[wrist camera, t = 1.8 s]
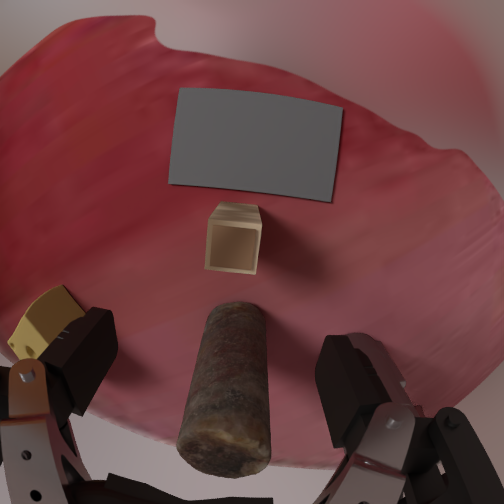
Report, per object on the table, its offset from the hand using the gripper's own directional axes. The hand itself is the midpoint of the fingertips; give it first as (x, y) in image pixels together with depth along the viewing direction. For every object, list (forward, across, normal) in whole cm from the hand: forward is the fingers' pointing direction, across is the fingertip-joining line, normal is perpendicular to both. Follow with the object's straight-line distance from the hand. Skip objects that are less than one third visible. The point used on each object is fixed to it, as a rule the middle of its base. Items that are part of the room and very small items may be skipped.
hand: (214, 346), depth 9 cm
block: (+22, 0, 0) cm, 22 cm away
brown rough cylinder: (+22, -1, +13) cm, 26 cm away
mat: (+22, -1, -9) cm, 24 cm away
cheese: (+22, +25, +18) cm, 38 cm away
